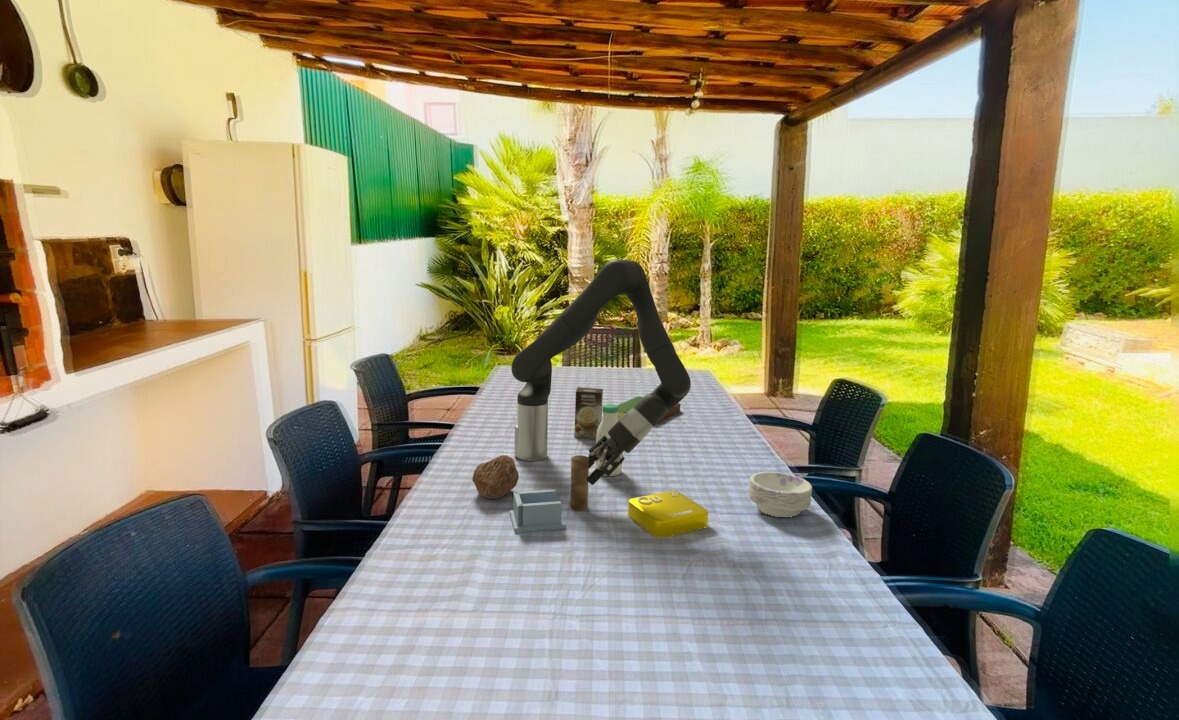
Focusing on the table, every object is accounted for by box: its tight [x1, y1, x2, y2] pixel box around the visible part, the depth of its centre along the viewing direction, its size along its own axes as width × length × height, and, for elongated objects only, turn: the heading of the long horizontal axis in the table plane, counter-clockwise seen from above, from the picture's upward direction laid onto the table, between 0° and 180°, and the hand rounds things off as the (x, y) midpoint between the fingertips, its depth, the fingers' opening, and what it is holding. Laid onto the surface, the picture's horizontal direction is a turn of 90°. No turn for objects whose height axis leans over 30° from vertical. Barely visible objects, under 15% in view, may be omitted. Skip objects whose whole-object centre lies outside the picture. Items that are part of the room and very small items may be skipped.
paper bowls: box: [748, 471, 813, 518], centre depth 163 cm, size 15×15×8 cm
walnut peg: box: [569, 454, 590, 512], centre depth 161 cm, size 4×4×13 cm
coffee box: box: [573, 386, 604, 439], centre depth 219 cm, size 9×6×16 cm
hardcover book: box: [617, 395, 681, 425], centre depth 248 cm, size 25×19×4 cm
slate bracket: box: [509, 489, 567, 533], centre depth 154 cm, size 12×10×6 cm
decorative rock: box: [471, 454, 520, 499], centre depth 169 cm, size 13×11×10 cm
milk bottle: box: [594, 403, 624, 477], centre depth 185 cm, size 8×8×20 cm
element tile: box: [627, 490, 709, 539], centre depth 156 cm, size 15×15×5 cm
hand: (585, 476), depth 161 cm, fingers open, 8 cm apart
